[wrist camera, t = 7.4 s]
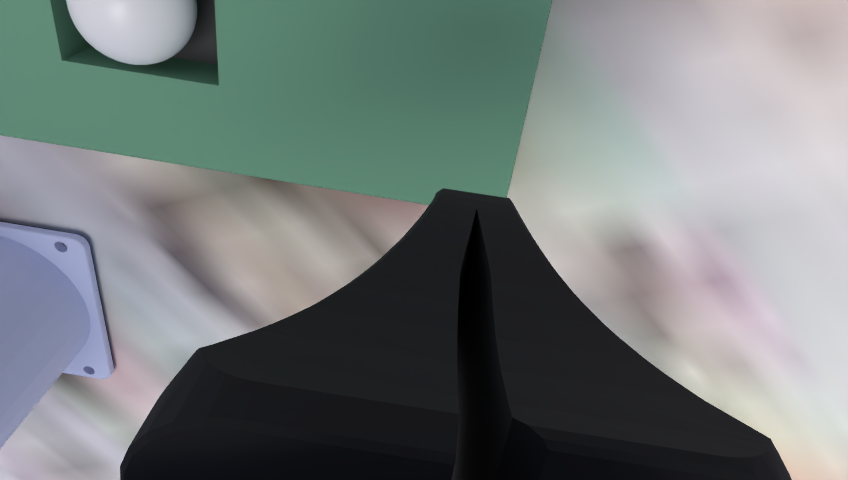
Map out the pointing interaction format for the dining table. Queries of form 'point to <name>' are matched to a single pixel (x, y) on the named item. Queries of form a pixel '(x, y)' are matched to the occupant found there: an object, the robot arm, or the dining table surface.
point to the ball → (135, 27)
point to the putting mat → (293, 91)
